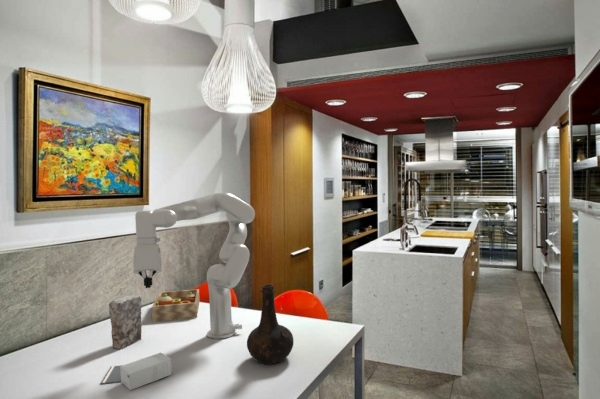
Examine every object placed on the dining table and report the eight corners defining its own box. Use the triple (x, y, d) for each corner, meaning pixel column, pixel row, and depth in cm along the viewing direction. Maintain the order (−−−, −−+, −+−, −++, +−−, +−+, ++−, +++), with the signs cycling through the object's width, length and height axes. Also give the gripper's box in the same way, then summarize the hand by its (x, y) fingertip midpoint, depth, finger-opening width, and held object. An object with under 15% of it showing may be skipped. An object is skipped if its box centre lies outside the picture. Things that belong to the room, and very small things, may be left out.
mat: (161, 362, 157) (161, 360, 157) (155, 377, 143) (155, 376, 143) (110, 367, 154) (110, 366, 154) (100, 384, 140) (100, 383, 140)
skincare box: (162, 366, 150) (120, 382, 141) (161, 351, 150) (119, 365, 140) (172, 374, 144) (129, 392, 134) (171, 358, 144) (127, 374, 134)
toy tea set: (181, 316, 213) (181, 298, 213) (153, 314, 215) (153, 296, 215) (201, 303, 239) (201, 287, 239) (175, 302, 241) (176, 285, 241)
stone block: (124, 350, 171) (122, 302, 171) (110, 349, 173) (108, 301, 172) (144, 338, 184) (142, 294, 183) (130, 338, 185) (128, 293, 185)
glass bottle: (276, 372, 144) (273, 293, 144) (237, 363, 154) (234, 288, 153) (303, 355, 159) (300, 283, 159) (266, 347, 169) (263, 279, 168)
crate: (199, 301, 245) (198, 289, 244) (197, 317, 213) (196, 302, 213) (160, 305, 240) (160, 292, 240) (152, 321, 209) (151, 306, 209)
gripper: (167, 239, 169) (168, 284, 170) (128, 241, 166) (130, 286, 167) (164, 241, 162) (166, 288, 162) (124, 243, 159) (126, 291, 159)
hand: (148, 287), depth 165 cm, fingers closed
